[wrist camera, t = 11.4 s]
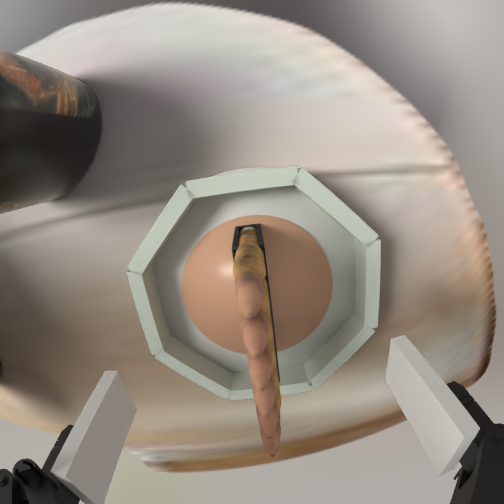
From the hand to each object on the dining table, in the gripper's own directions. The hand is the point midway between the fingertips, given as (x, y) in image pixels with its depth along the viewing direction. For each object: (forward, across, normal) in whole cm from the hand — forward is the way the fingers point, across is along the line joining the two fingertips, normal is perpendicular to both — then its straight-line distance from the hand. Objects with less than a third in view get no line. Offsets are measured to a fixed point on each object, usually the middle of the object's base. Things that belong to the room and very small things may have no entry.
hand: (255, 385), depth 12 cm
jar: (+13, -16, +16) cm, 26 cm away
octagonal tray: (+12, +1, 0) cm, 13 cm away
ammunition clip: (+11, 0, 0) cm, 11 cm away
